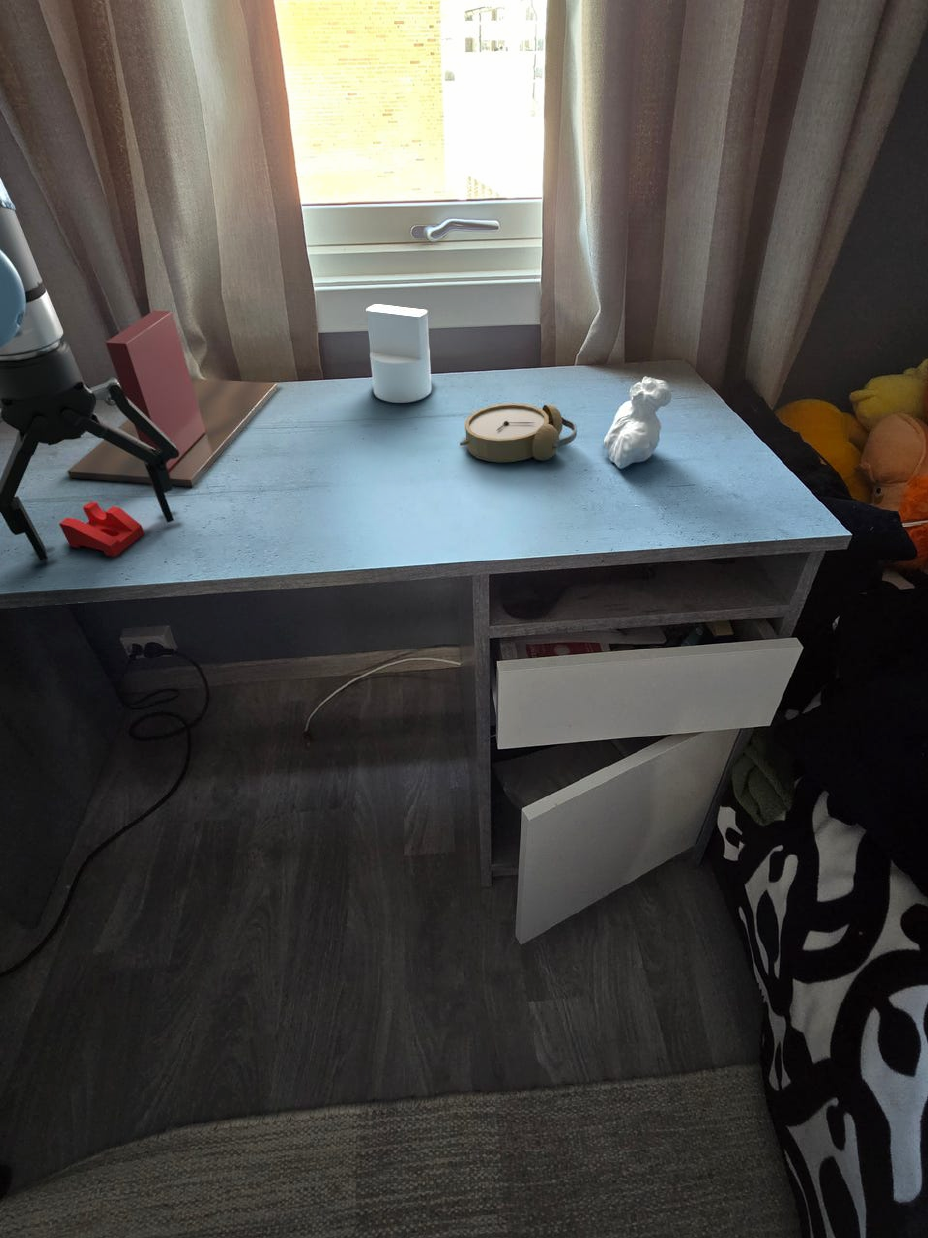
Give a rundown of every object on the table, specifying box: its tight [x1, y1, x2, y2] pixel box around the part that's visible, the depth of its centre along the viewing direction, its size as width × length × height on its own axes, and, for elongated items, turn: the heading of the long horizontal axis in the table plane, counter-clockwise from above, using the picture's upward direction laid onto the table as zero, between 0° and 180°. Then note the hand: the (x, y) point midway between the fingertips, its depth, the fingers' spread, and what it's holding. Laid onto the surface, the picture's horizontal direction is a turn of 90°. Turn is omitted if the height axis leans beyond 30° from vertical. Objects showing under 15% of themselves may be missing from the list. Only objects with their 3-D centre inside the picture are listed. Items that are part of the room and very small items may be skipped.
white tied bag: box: [603, 376, 672, 470], centre depth 88 cm, size 12×8×11 cm
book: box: [105, 310, 205, 471], centre depth 86 cm, size 2×11×16 cm, turn 171°
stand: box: [67, 378, 278, 488], centre depth 99 cm, size 17×30×1 cm, turn 171°
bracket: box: [58, 500, 145, 558], centre depth 77 cm, size 6×5×3 cm
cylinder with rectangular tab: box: [365, 303, 432, 404], centre depth 104 cm, size 9×9×12 cm
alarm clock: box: [459, 402, 578, 463], centre depth 92 cm, size 11×5×15 cm
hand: (107, 534), depth 78 cm, fingers open, 13 cm apart
